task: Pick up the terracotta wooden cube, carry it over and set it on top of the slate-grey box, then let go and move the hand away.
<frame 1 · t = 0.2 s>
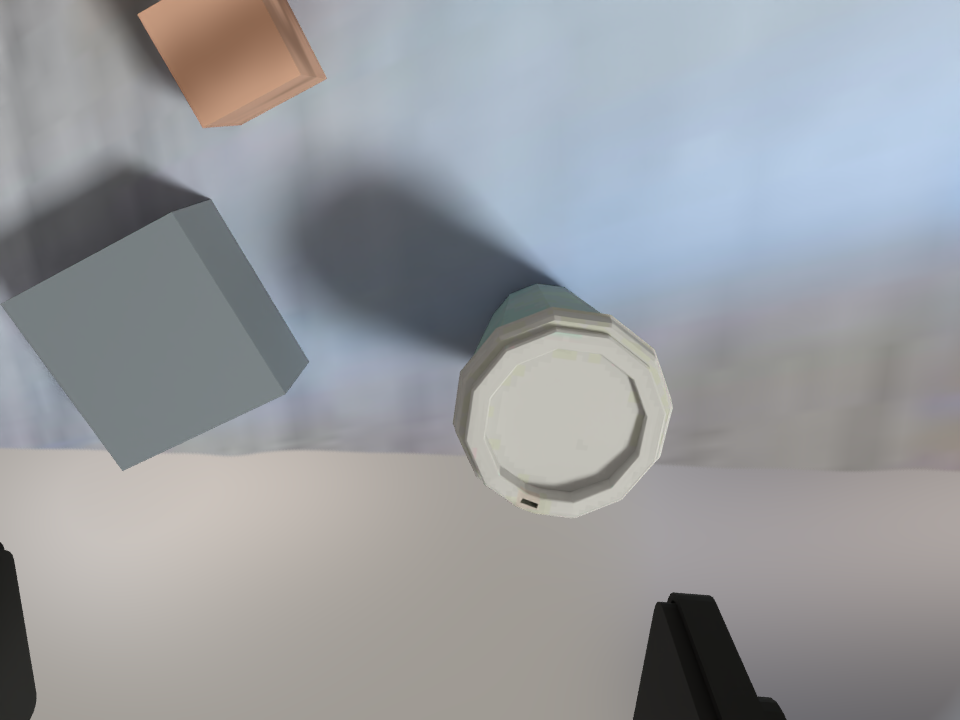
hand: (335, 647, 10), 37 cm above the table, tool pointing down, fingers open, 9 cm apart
terracotta cube: (257, 53, 42), on the table
disposable coffee cup: (545, 331, 47), on the table
slate box: (187, 321, 48), on the table
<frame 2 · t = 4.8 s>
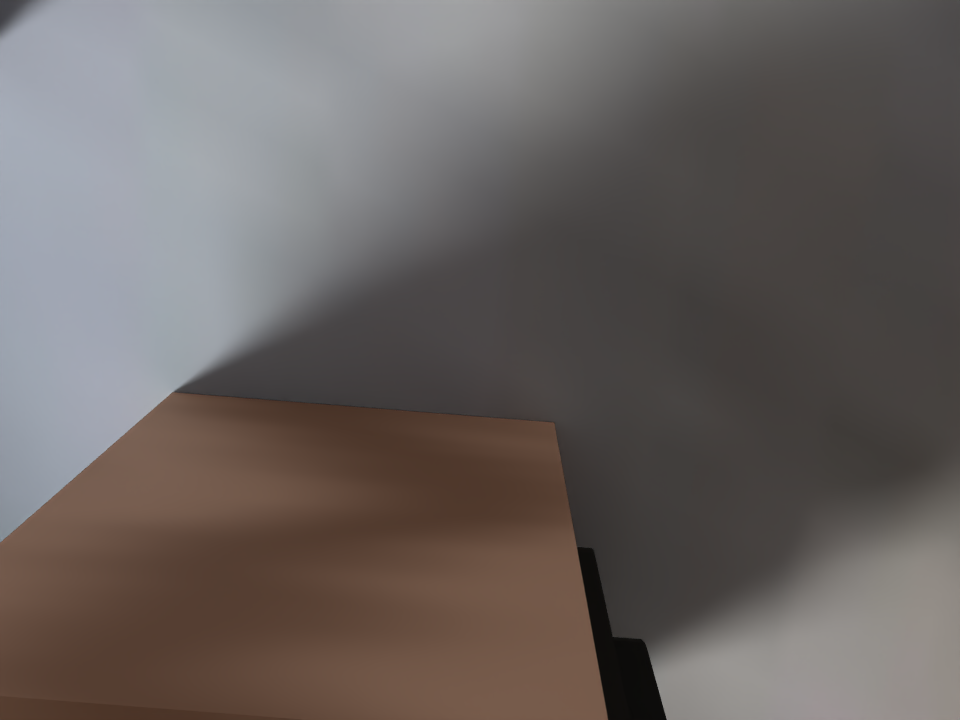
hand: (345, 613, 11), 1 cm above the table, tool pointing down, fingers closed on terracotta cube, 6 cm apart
terracotta cube: (359, 568, 12), on the table, touching gripper
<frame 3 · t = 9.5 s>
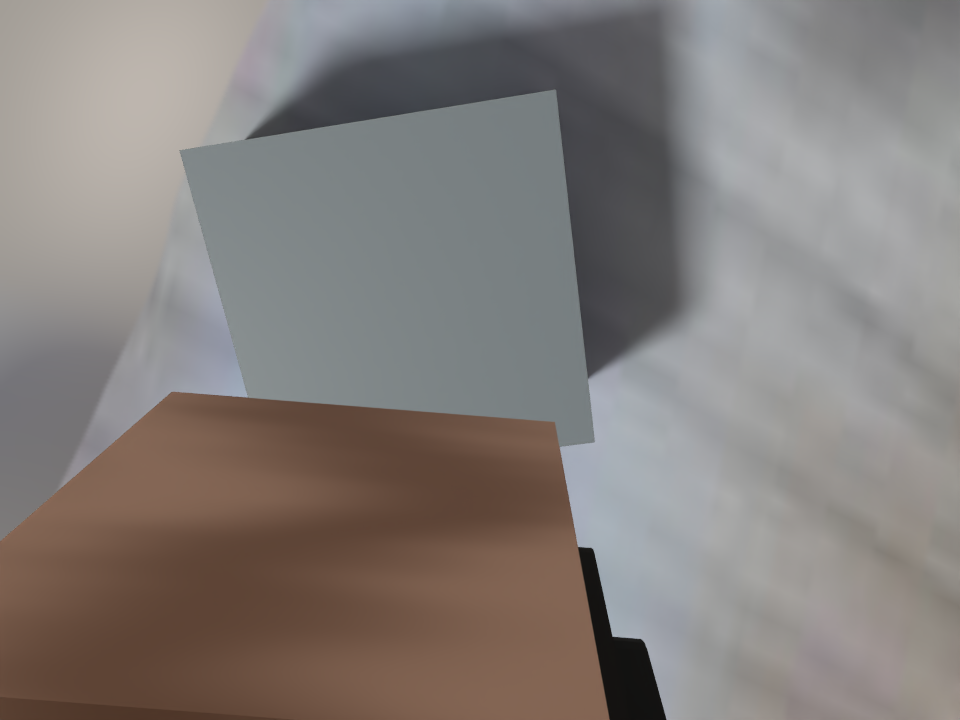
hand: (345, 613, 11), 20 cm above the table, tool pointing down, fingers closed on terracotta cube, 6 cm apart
terracotta cube: (359, 568, 12), point 19 cm above the table, touching gripper
slate box: (418, 268, 30), on the table
when the fingers open (8 cm above the table, at t = 14.4 s): terracotta cube drops 1 cm, resting on slate box.
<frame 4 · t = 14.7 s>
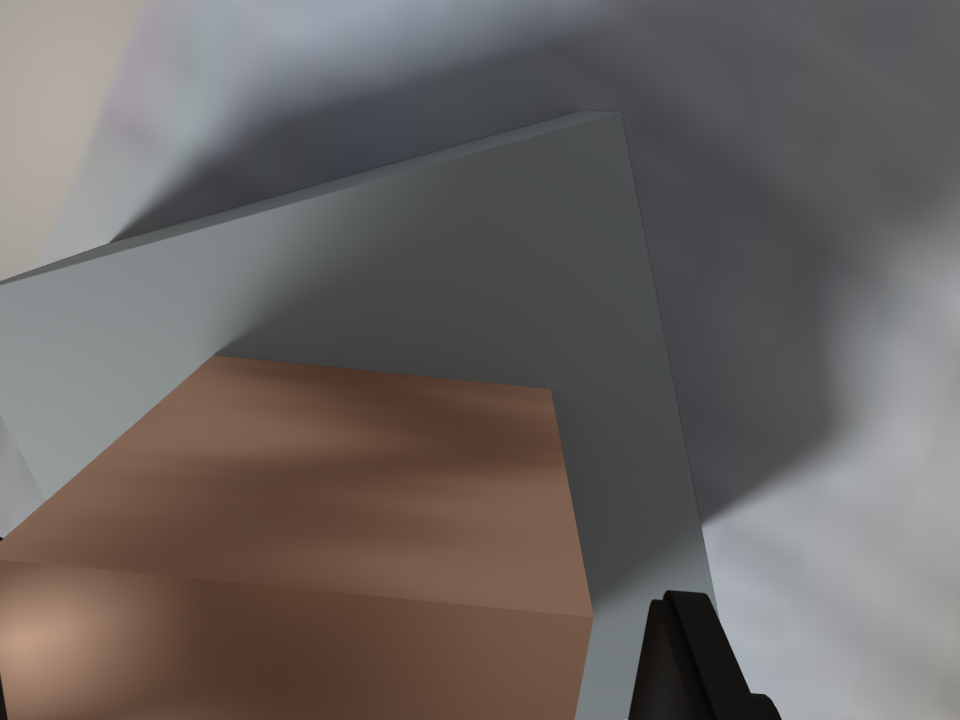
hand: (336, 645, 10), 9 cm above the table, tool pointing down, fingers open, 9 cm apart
terracotta cube: (374, 518, 14), point 6 cm above the table, touching slate box
slate box: (410, 398, 19), on the table, touching terracotta cube
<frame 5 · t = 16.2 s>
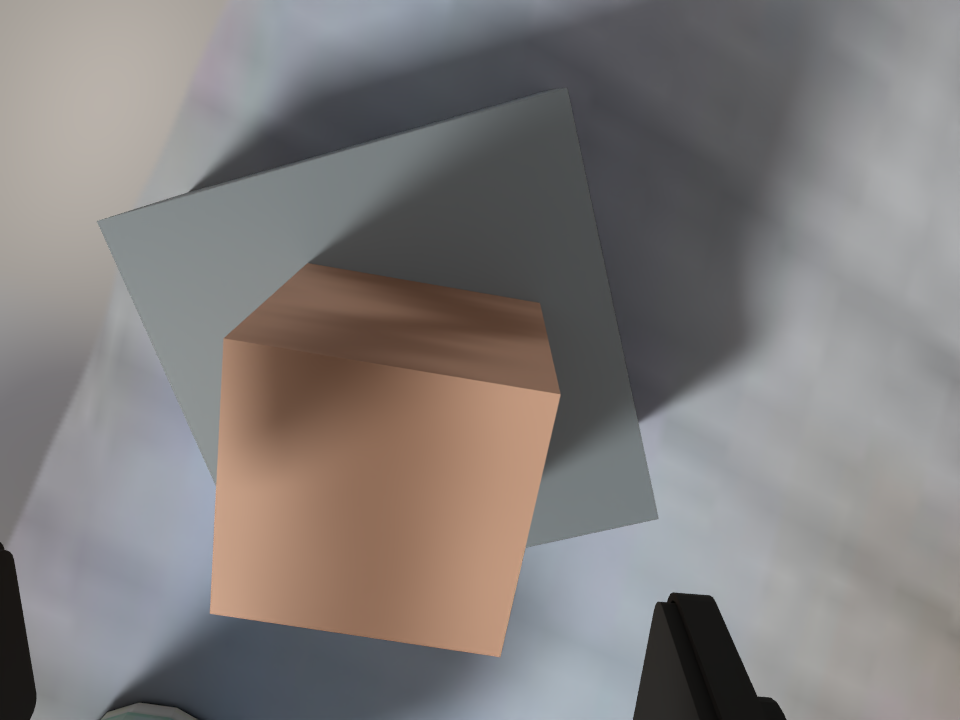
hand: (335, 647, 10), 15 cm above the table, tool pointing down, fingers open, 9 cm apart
terracotta cube: (408, 389, 19), point 6 cm above the table
slate box: (419, 316, 25), on the table
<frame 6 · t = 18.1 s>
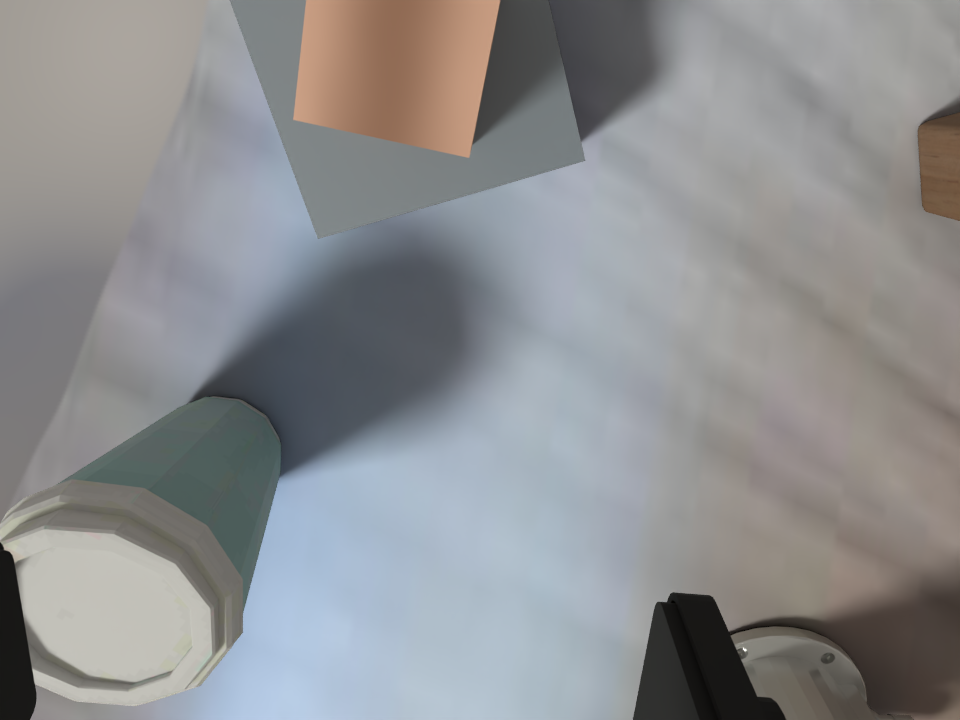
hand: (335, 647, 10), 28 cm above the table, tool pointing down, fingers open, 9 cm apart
terracotta cube: (414, 52, 29), point 6 cm above the table
disposable coffee cup: (224, 445, 41), on the table
slate box: (418, 60, 34), on the table
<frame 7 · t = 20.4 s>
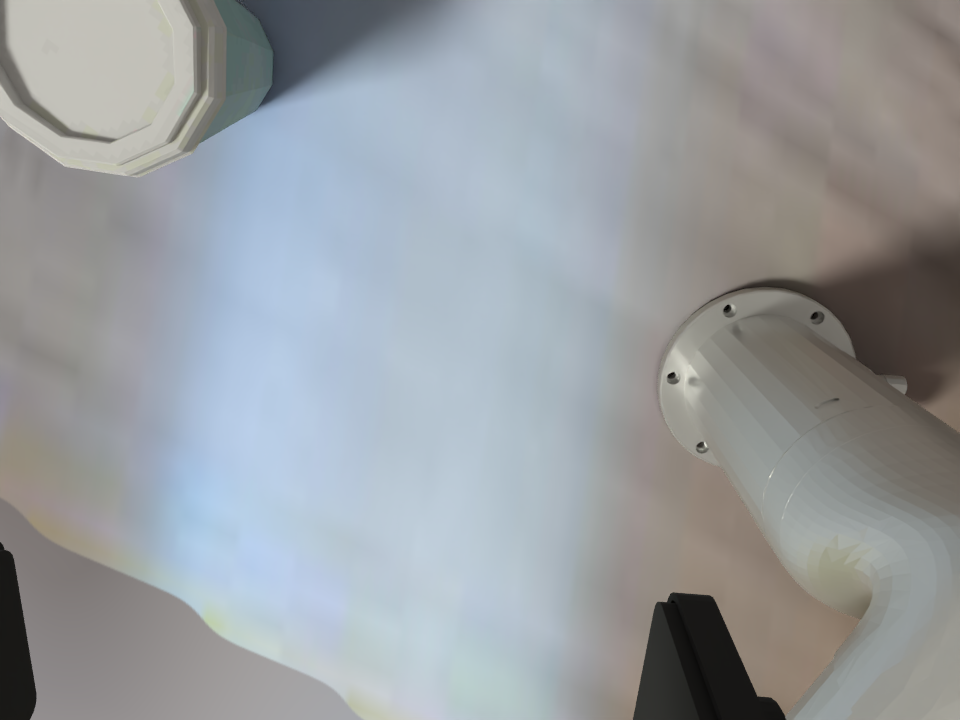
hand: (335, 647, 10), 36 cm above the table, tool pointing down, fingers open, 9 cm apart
disposable coffee cup: (218, 64, 42), on the table
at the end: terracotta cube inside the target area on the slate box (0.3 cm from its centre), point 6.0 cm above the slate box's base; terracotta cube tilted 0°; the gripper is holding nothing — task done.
